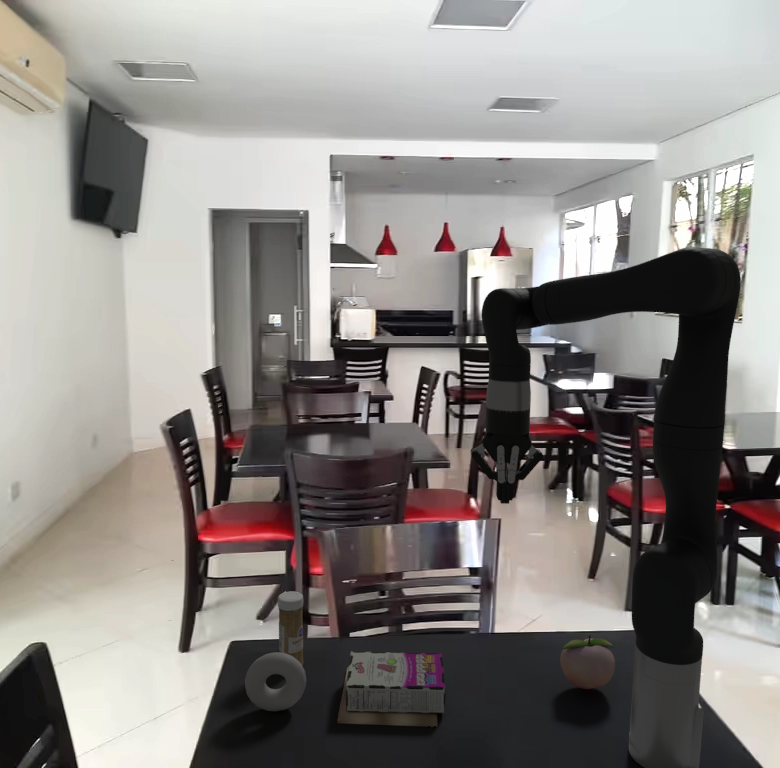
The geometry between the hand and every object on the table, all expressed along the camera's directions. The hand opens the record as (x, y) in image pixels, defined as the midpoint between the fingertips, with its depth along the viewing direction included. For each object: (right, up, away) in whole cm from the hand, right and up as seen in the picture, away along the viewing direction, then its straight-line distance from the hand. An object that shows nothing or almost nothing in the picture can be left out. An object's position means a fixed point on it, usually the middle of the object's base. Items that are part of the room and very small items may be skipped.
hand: (504, 502), depth 127 cm
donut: (-39, -33, -8) cm, 52 cm away
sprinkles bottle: (-38, -31, +6) cm, 50 cm away
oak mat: (-20, -33, -3) cm, 39 cm away
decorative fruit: (+14, -33, -1) cm, 36 cm away
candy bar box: (-11, -30, -4) cm, 32 cm away
